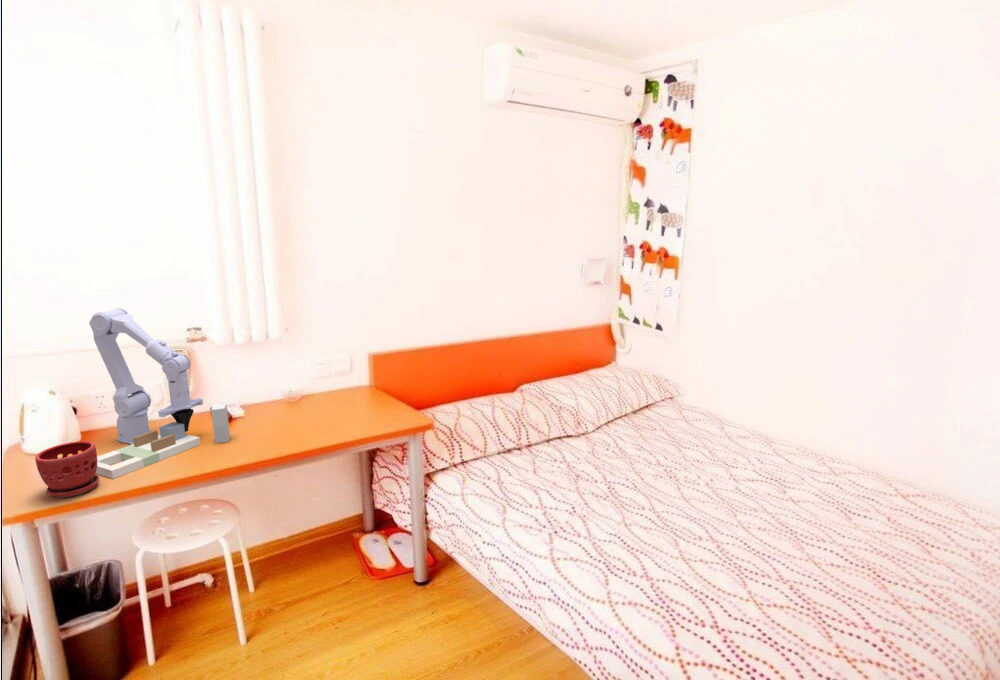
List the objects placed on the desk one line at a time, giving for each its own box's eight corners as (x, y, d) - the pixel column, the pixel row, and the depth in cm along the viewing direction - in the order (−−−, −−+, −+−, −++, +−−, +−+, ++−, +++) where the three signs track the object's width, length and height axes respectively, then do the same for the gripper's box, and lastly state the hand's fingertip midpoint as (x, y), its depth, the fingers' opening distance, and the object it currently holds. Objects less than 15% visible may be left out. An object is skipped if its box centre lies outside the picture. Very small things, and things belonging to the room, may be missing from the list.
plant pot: (90, 475, 165) (83, 436, 162) (109, 487, 157) (103, 447, 155) (34, 492, 154) (27, 451, 152) (53, 506, 147) (45, 463, 144)
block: (161, 439, 185) (159, 426, 184) (175, 434, 189) (173, 421, 188) (171, 442, 183) (169, 429, 182) (185, 437, 187) (183, 424, 186)
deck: (83, 469, 168) (81, 452, 167) (172, 437, 193) (170, 422, 192) (113, 478, 163) (110, 460, 161) (200, 444, 187) (198, 428, 186)
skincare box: (216, 437, 193) (212, 404, 191) (230, 435, 195) (226, 402, 192) (214, 444, 188) (210, 409, 185) (228, 442, 189) (225, 408, 187)
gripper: (166, 399, 178) (171, 440, 181) (207, 387, 191) (211, 425, 194) (152, 396, 181) (157, 436, 184) (193, 385, 194) (197, 422, 197)
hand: (184, 431), depth 189 cm, fingers closed
